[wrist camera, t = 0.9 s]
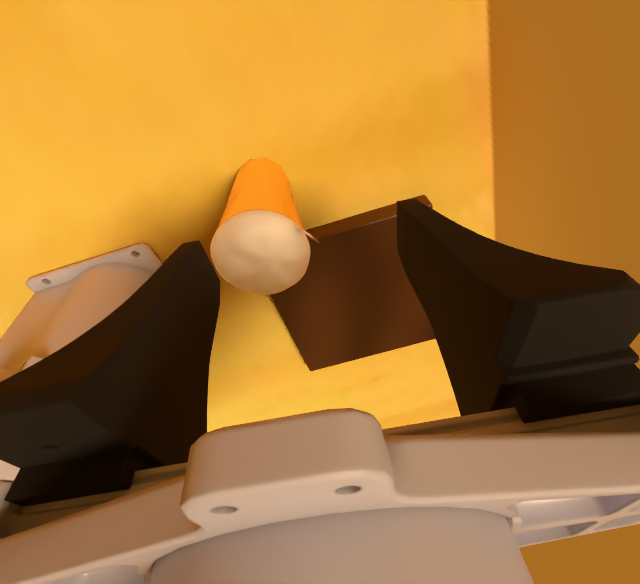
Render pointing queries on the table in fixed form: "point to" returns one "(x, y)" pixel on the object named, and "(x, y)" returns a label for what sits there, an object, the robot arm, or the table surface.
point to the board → (354, 293)
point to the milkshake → (261, 232)
